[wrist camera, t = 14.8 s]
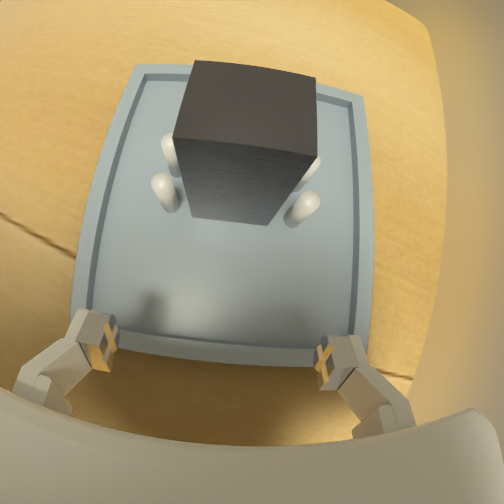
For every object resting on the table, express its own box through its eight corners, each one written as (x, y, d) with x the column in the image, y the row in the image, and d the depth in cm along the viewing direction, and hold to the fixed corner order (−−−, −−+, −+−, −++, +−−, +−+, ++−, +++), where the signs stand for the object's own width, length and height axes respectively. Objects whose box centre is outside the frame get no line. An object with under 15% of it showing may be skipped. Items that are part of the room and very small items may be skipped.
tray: (84, 332, 18) (46, 341, 12) (140, 82, 21) (129, 41, 16) (349, 359, 20) (388, 374, 15) (352, 111, 24) (377, 76, 18)
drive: (192, 217, 19) (171, 137, 9) (201, 161, 19) (195, 57, 10) (267, 226, 19) (317, 157, 9) (271, 169, 20) (315, 74, 10)
